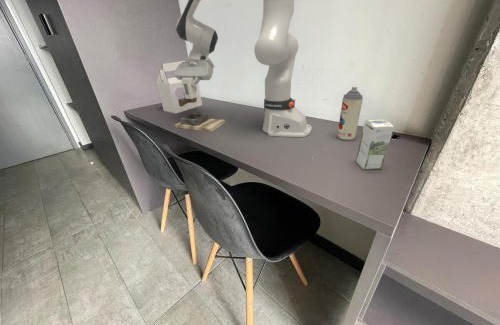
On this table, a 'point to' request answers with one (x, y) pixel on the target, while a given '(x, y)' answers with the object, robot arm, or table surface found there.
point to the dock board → (199, 122)
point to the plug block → (188, 88)
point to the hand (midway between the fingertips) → (188, 86)
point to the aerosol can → (349, 115)
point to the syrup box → (374, 144)
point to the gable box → (168, 91)
